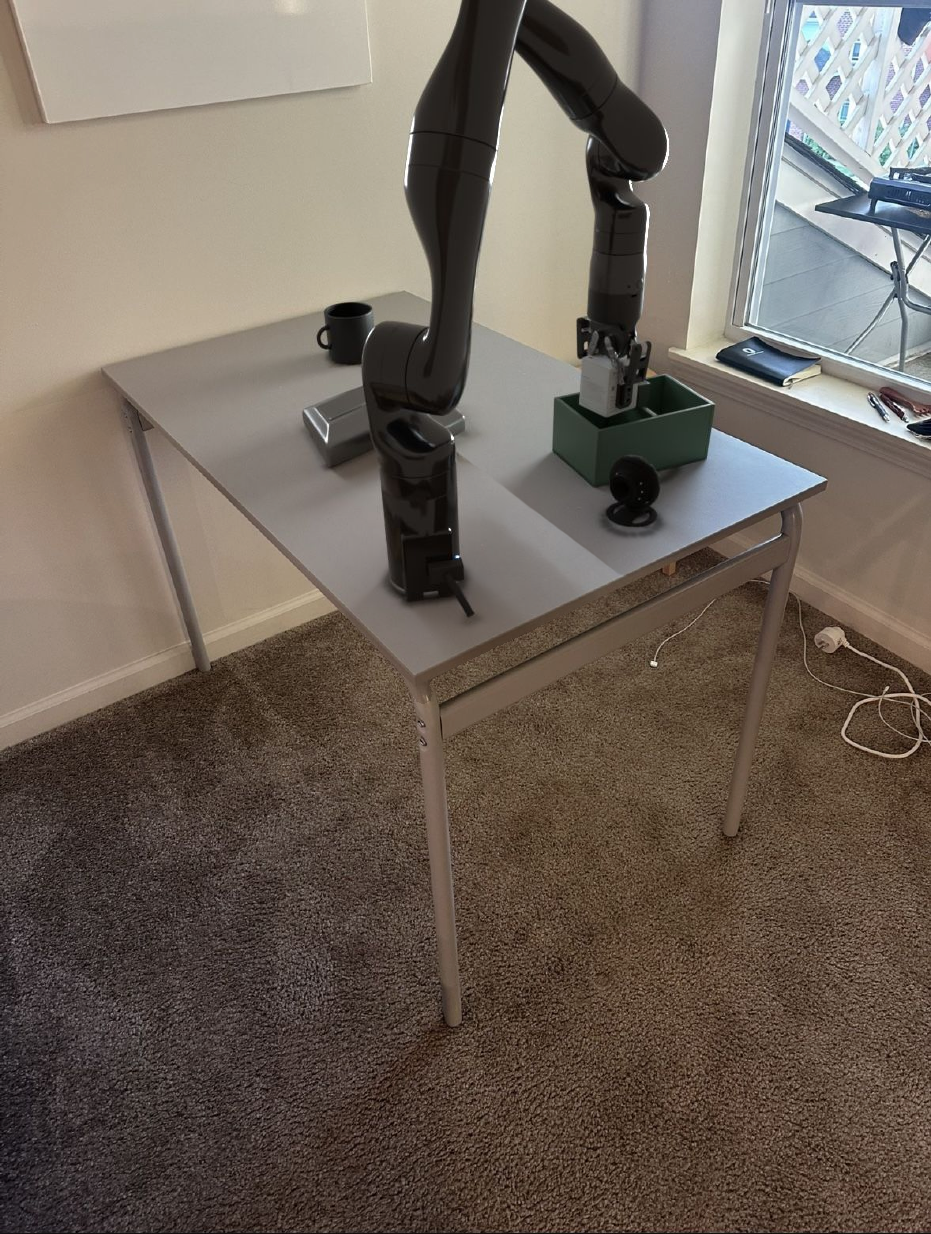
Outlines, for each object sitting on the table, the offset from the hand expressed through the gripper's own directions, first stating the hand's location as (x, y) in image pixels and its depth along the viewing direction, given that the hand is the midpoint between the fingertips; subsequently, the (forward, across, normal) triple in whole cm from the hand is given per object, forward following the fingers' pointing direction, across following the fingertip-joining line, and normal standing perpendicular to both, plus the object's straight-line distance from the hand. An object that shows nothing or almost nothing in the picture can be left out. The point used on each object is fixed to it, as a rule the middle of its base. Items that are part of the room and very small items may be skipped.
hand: (607, 398), depth 131 cm
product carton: (+1, 0, 0) cm, 1 cm away
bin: (+11, 0, +5) cm, 12 cm away
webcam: (+12, +14, -6) cm, 19 cm away
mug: (+12, -65, -13) cm, 67 cm away
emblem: (+12, -31, -22) cm, 40 cm away
